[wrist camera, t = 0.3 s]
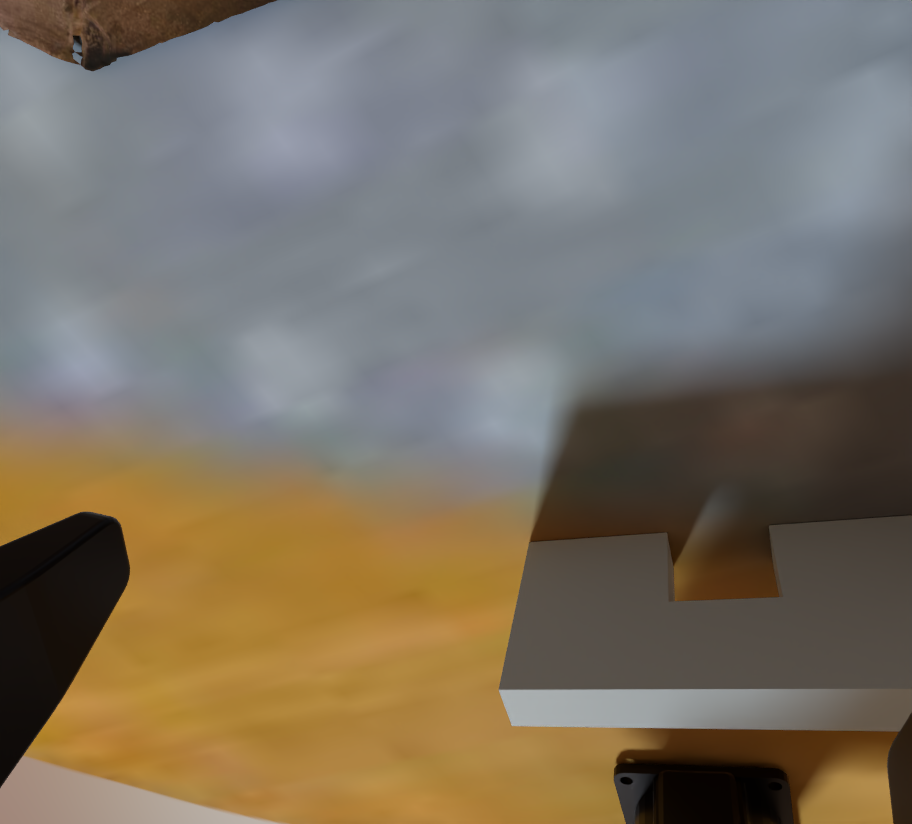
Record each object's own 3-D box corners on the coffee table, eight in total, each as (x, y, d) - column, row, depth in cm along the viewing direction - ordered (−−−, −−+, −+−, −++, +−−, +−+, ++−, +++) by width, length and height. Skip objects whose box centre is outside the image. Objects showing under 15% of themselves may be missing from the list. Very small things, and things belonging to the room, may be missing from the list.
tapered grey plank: (938, 553, 22) (1023, 733, 17) (539, 575, 26) (512, 725, 21) (939, 513, 21) (1028, 688, 16) (529, 542, 25) (498, 689, 20)
